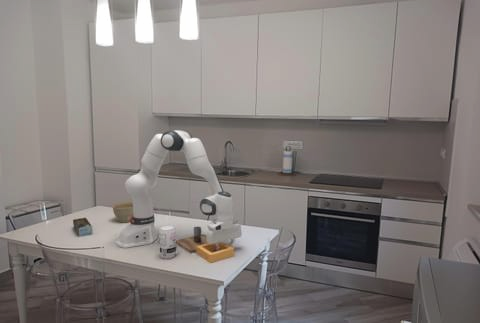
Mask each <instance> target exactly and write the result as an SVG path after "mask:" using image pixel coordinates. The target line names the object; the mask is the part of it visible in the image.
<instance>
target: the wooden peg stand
mask: <svg viewBox="0 0 480 323" xmlns="http://www.w3.org/2000/svg"><path fill="white" fill-rule="evenodd" d="M206 235H207V234H205V233H202V227H201V226H194V227H193V236H188V237H184V238H180V239H176V245H178V246H180V247H181V248H183V249H184V250H185V251H187V252H188V253H190V254H194V253H196V246H199V245H203V244H207V241H206Z"/></svg>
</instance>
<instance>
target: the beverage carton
mask: <svg viewBox="0 0 480 323" xmlns="http://www.w3.org/2000/svg"><path fill="white" fill-rule="evenodd" d="M72 222H73V224H72V225H73V229H74V231H75V232H76V234H77V236H78V237H79V238H81V237H82V238H83V237H86V236H92V235H93V226H92V225H91V222H90V221H89V220H88V218H86V217H82V218H75V219H73V220H72Z"/></svg>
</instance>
